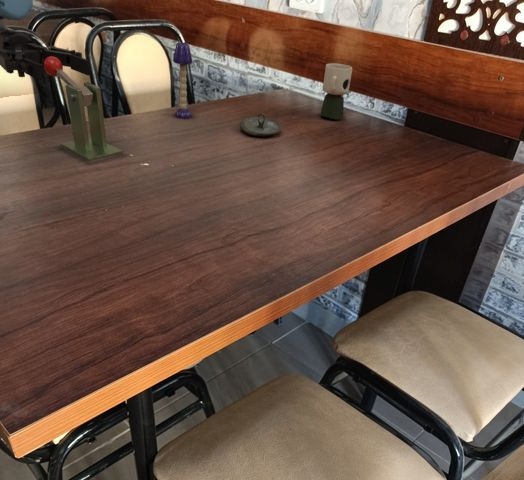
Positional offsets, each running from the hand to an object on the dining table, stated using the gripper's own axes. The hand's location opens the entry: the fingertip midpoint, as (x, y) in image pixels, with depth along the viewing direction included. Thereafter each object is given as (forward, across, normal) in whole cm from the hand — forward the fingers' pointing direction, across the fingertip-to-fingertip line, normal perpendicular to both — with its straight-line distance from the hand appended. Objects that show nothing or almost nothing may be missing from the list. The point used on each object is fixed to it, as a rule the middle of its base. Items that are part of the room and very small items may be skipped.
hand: (66, 70), depth 100 cm
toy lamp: (-4, -33, -15) cm, 37 cm away
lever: (0, 0, -4) cm, 4 cm away
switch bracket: (+6, 0, -14) cm, 16 cm away
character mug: (+18, -68, -15) cm, 72 cm away
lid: (+16, -41, -15) cm, 47 cm away
